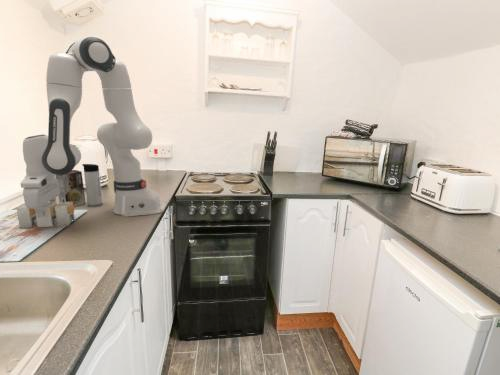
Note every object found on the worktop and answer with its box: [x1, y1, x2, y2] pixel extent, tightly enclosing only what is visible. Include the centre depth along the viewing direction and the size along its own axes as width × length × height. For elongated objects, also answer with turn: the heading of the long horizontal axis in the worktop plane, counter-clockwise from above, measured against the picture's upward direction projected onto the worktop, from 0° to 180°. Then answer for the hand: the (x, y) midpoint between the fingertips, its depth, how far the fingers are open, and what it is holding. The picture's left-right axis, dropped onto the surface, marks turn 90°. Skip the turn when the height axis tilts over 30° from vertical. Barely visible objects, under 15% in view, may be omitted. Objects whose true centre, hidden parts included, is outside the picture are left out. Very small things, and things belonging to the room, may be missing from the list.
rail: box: [15, 202, 76, 229], centre depth 115 cm, size 18×6×8 cm, turn 101°
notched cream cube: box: [35, 201, 58, 228], centre depth 116 cm, size 6×6×8 cm
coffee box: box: [55, 169, 87, 208], centre depth 138 cm, size 9×6×16 cm
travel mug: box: [82, 163, 103, 208], centre depth 139 cm, size 6×7×20 cm
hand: (46, 212), depth 115 cm, fingers open, 8 cm apart
